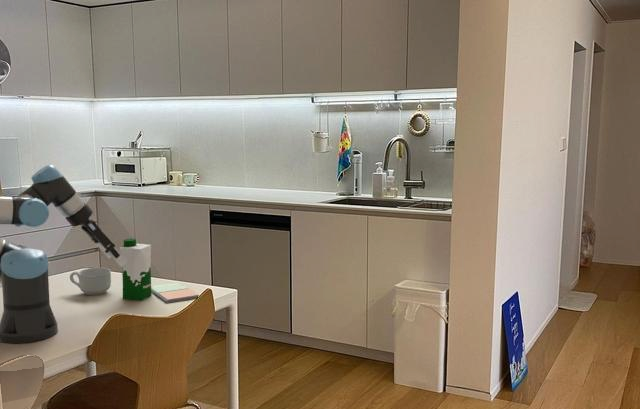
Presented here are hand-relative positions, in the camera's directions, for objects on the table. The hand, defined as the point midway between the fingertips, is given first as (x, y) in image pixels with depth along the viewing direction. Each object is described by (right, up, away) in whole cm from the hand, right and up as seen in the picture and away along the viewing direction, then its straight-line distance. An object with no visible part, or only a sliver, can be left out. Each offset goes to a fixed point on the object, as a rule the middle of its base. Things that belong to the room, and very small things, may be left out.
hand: (118, 260), depth 195 cm
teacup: (-15, -13, +18) cm, 27 cm away
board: (+14, -13, +18) cm, 26 cm away
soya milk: (+2, -14, +13) cm, 19 cm away
